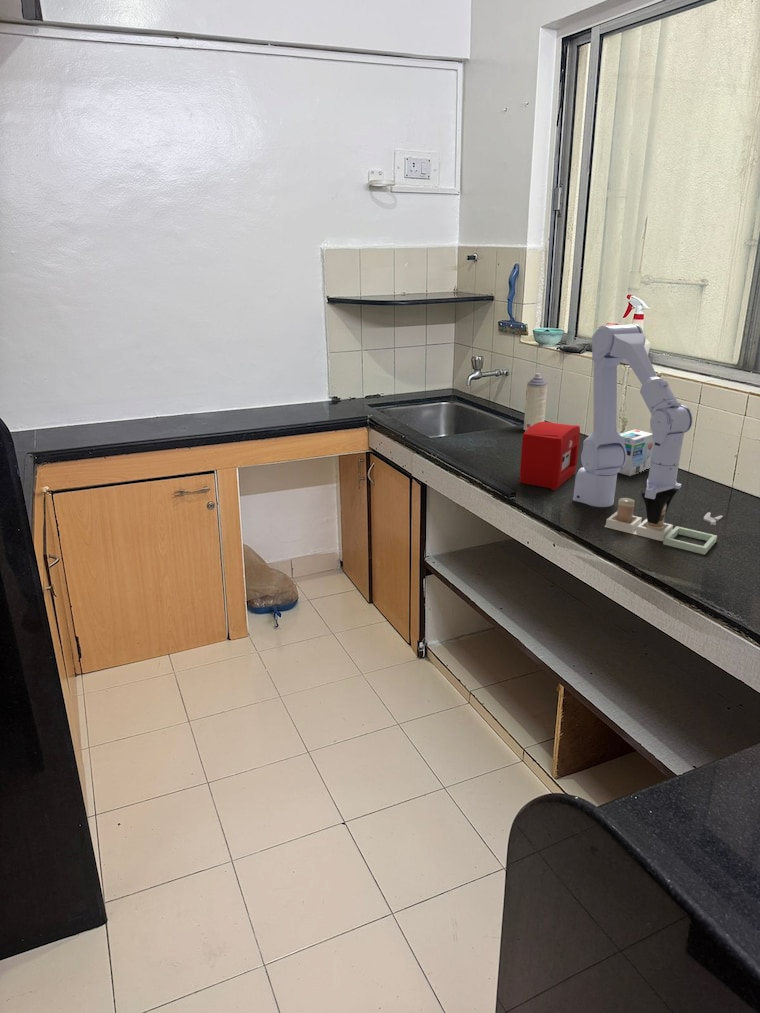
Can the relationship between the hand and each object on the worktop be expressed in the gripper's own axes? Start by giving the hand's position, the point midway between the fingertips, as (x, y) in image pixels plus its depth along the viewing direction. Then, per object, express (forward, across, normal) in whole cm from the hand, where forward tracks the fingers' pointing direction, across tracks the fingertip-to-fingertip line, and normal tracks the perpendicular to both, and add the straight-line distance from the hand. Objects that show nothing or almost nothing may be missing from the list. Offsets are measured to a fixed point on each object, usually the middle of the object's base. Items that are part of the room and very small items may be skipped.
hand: (655, 520), depth 156 cm
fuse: (+3, 0, +7) cm, 8 cm away
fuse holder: (+4, 0, +3) cm, 5 cm away
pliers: (+4, +12, -8) cm, 15 cm away
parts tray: (+4, -1, -8) cm, 9 cm away
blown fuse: (+2, 0, 0) cm, 2 cm away
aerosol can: (+4, +66, +63) cm, 92 cm away
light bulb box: (+4, +44, +21) cm, 49 cm away
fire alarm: (+4, +22, +36) cm, 43 cm away
